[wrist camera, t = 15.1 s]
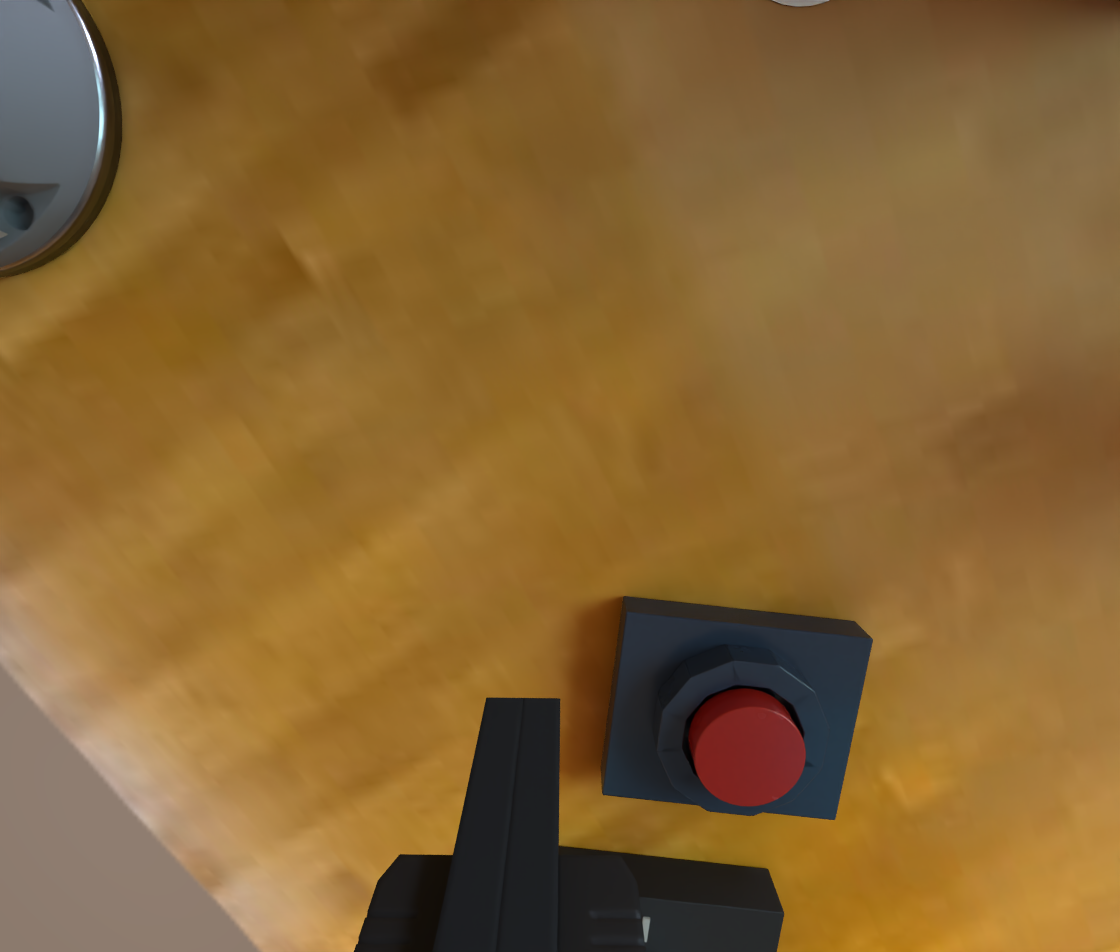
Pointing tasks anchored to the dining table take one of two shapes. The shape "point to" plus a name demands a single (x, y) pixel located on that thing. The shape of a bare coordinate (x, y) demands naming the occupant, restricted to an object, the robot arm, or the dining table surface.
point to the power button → (746, 747)
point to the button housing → (719, 665)
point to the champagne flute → (800, 2)
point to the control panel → (702, 904)
